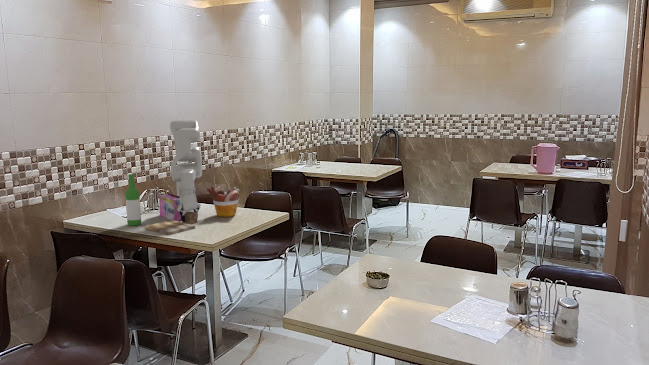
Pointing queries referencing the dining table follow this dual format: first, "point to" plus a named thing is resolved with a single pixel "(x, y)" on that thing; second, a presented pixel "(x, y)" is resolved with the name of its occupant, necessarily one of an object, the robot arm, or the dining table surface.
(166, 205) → the gum box
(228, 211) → the bucket of meat
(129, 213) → the wine bottle
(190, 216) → the walnut block
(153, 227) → the beige segmented panel
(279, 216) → the dining table surface
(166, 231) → the board
